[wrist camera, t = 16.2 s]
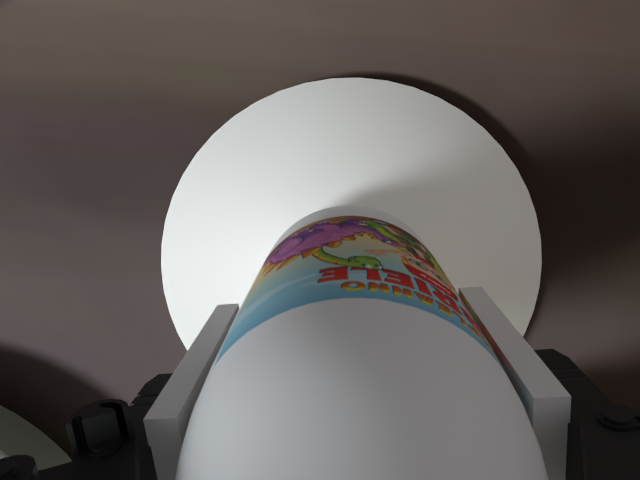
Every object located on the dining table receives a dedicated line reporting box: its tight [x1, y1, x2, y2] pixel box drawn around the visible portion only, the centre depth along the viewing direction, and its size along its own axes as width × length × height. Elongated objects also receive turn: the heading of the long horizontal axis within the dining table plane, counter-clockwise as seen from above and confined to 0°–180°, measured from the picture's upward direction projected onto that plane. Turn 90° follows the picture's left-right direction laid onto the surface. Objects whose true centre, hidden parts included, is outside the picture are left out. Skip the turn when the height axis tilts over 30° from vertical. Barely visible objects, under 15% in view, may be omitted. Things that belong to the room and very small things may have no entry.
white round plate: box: [161, 78, 542, 351], centre depth 23 cm, size 18×18×1 cm
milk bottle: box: [175, 205, 549, 480], centre depth 12 cm, size 8×8×20 cm
